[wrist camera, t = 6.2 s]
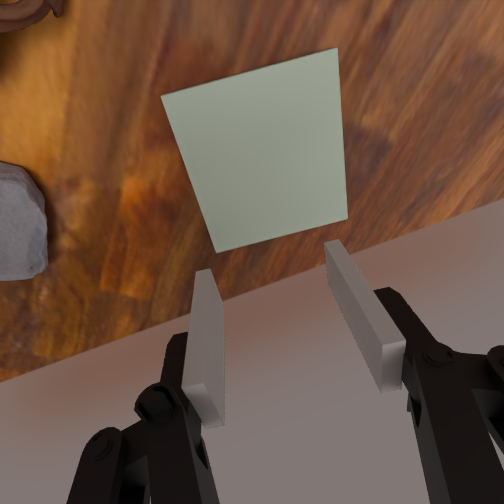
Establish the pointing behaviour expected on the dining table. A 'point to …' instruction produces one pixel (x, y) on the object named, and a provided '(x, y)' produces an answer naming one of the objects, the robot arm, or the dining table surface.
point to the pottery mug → (27, 13)
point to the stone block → (21, 225)
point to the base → (264, 149)
